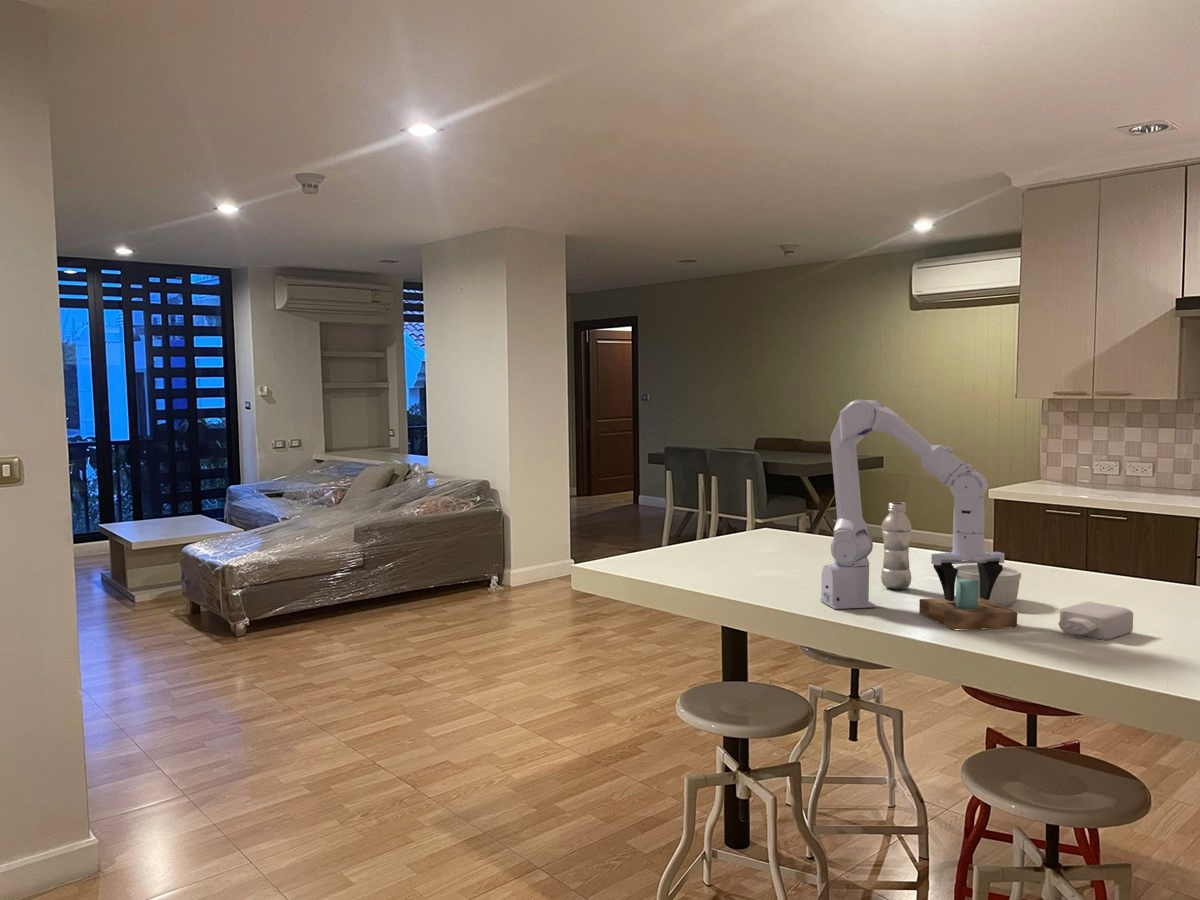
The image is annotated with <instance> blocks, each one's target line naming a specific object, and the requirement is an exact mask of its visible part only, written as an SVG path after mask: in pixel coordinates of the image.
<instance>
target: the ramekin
mask: <svg viewBox="0 0 1200 900" xmlns="http://www.w3.org/2000/svg"><path fill="white" fill-rule="evenodd" d="M954 568H956V569H958V572H957V575H956V580H957V579H973V580H977V581H978V597H980V577H979V570H978V565H977V563H968V564H959V565H957V566H956V567H954ZM1021 579H1022V572H1021V570H1019V569H1017V568H1013V567H1009V566H1004V565H1003V570H1002V572H1001V573H1000V574H999V576H998V577H997V579H996V581H995V583H994V586H993V588H992V591H991V595H990V598H989V600H987V601H990V602H993V603H995V604H998V605H1000V606H1003V607H1005V606H1004V605H1007V606H1010V605H1013V604H1014V603H1015V602H1017V599H1018V595H1019V589H1020V581H1021ZM982 599H983V598H982Z"/></svg>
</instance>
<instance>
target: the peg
mask: <svg viewBox="0 0 1200 900" xmlns="http://www.w3.org/2000/svg"><path fill="white" fill-rule="evenodd" d="M955 587H956V588H955V598H956V607H957V608H960V609H978V581H977V580H973V579H957V578H956V580H955Z"/></svg>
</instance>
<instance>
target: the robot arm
mask: <svg viewBox="0 0 1200 900" xmlns="http://www.w3.org/2000/svg"><path fill="white" fill-rule="evenodd" d="M874 431H875V432H879V433H880V432H882V433H887V434H889V435H891V436H893V437H894V438H895V439H896V440H898V441H899V442H900V443H902V444H903V445H904V446H906V447H907V448H908V449H910V450H911V451H912V452H914V453H915V454H916V455H918V456H919V457H920V459H921V466H922V468H923V469H925V470H926V471H927V472H929V473H930V474H931V475H933V477H935V478H936V479H937V480H939V481H940V482H941V483H942V484H943V485H945V486H946V487H949V490H950V492H951V493H950V494H951V495H952V497H954V502H953V503H954V505H953V513H952V514H953V515H952V516H953V520H952V551H948V552H941V553H931V557H930V558H931V560H930V561H931V564H932V565H933V569H934V571H935V572H936V574H937V577H938V578H939V581H940V585H941V587H942V590H943V594H944V596H943V597H944V598H945V599H946V600H948V601H954V598H955V593H956V588H955V587H956V580H957V578H956V575H957V572H958V569H956V568H955V567H954V565H958V564H959V565H968V564H977V565H978V570H979V577H980V598H983V599H985V600H989V598H990V595H991V591H992V588H993V586H994V583H995V581H996V579H997V577H998V576H999V574H1000V573H1001V572H1002V570H1003V566H1004V565H1003V564H1005V552H1000V551H985V524H986V523H985V519H986V515H985V514H986V510H985V502H986V501H985V494H986V493H987V491H988V488H989V483H988V480H987V478H986V476H984V474H983V473H982V472H981V470H976V469H972V468H973V465H971V463H965V462H964V461H963V460H961V458H959V457H958V456H957V455H955V454H954V453H953V452H954V449H953V448H952V447H950V446H944V445H943V444H936V445H935V444H934V445H933V444H932V443H930V442H929V441H928V440H927V439H926V438H925V437H923V436H922V434H920V433H919V432H918V430H916V429H914V428H913V427H912V426H911V425H910V424H909V423H908V422H907V421H905V420H904V419H903V418H902V417H901V416H900V415H899V414H897V413H896V412H895V411H894V410H893V409H892V408H890V407H887V406H885V405H884V404H883V403H882V401H881V402H880V401H879V400H877V399H867V400H866V399H865V400H863V399H855V400H852V401H850V402H849V403H847V405H846V406H844V407H843V408H842V409H841V410H840V412H839V418H838V420H837V423H836V424H835V427H834V428H833V430H832V433H831V436H830V450H831V451H830V452H831V462H832V463H831V464H832V470H833V471H832V474H833V484H834V495H835V505H836V518H837V519H836V522H835V525H834V528H833V539H832V542H831V545H830V553H831V556H832V558H833V559H834V561H833V563H831V564H830V563H829V564H826V565H824V566H823V567H822V570H821V597H820V599H819V601H820V602H822V603H823V604H825V605H827V606H829V607H831V608H832V609H835V610H837V609H838V610H840V609H841V610H844V609H867V608H877V604H875V603H873V602H871V601H870V600H869V599H870V597H869V595H870V593H869V592H870V561H869V559H868V556H869V555H870V554H871V553H872V551H873V548H874V547H873V546H874V543H873V539H872V538H871V536H870V534H869V531H868V526H867V523H866V521H865V519H864V518H863V509H862V497H861V485H860V475H859V464H858V452H857V445H858V444H859V443H860V442H861V440H862V439H863V438H865V437H866V435H867V434H869V433H871V432H874Z"/></svg>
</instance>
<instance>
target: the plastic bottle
mask: <svg viewBox="0 0 1200 900" xmlns="http://www.w3.org/2000/svg"><path fill="white" fill-rule="evenodd" d="M906 505H907V504H906V503H905V502H896V501H895V502H888V509H887V511H888V512H889V513H888V514H887V515H886V517H885V518H884V519H883V520H882V523H881V531H882V532H881V533H882V539H883V563H882V569H881V574H880V580H881V584H882V585H883V587H885V588H889V589H893V590H902V589H908V588H909V586H911V582H912V574H911V573H912V572H911V569H910V559H909V558H910V557H909V549H910V540H911V534H912V524H911V521H910V520H909V518H908V516H907V515H906V514H905V513H906V512H907V509H906V508H907V507H906Z"/></svg>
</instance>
